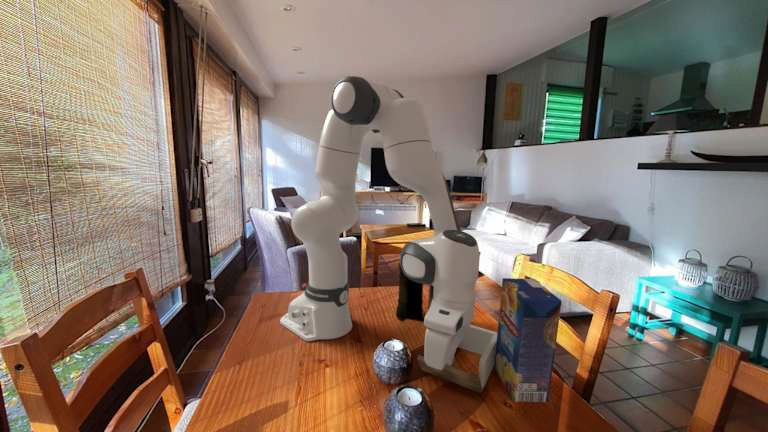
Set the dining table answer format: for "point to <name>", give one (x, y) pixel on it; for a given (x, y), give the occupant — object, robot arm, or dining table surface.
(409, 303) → the container
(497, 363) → the juice carton
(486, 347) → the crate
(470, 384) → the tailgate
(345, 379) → the dining table surface
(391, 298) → the dining table surface
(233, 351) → the dining table surface
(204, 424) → the dining table surface
